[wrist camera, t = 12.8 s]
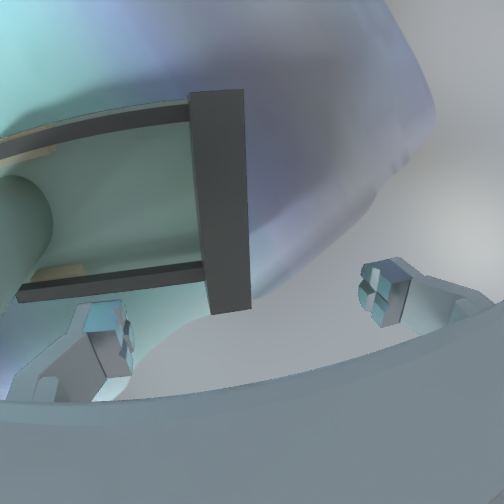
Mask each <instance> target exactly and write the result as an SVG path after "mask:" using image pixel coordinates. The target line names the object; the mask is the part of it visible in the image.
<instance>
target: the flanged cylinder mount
mask: <svg viewBox="0 0 504 504" xmlns="http://www.w3.org/2000/svg"><path fill="white" fill-rule="evenodd" d="M181 104H188V99H180V100H171V101H163V102H155V103H148V104H141V105H135V106H128V107H122V108H117V109H111V110H106V111H101V112H96V113H91V114H87V115H82V116H78V117H73V118H69V119H65V120H61V121H57V122H54V123H50V124H46V125H43V126H39V127H36V128H32V129H29V130H26V131H22V132H19V133H16V134H13V135H10V136H7V137H4V138H1V139H0V143H3V142H6V141H9V140H12V139H15V138H18V137H22V136H25V135H28V134H32V133H35V132H38V131H42V130H46V129H49V128H53V127H57V126H61V125H65V124H69V123H73V122H78V121H82V120H87V119H91V118H96V117H101V116H106V115H112V114H117V113H123V112H129V111H135V110H142V109H148V108H156V107H163V106H172V105H181ZM200 260H202V259H201V250H200V241H199V232H198V222H197V213H196V202H195V192H194V181H193V169H192V156H191V143H190V129H189V122H179V123H171V124H163V125H155V126H148V127H141V128H134V129H128V130H122V131H116V132H111V133H105V134H100V135H95V136H90V137H85V138H81V139H76V140H72V141H67V142H63V143H59V144H55V145H51V146H47V147H43V148H39V149H36V150H32V151H28V152H25V153H21V154H18V155H15V156H11V157H8V158H5V159H2V160H0V319H1V317H2V316H3V314H4V312H5V311H6V309H7V307H8V306H9V304H10V302H11V301H12V299H13V297H14V296H15V294H16V293H17V291H18V290H19V288H20V286H21V285H22V284H25V283H33V282H40V281H48V280H56V279H63V278H71V277H79V276H86V275H94V274H101V273H109V272H117V271H124V270H132V269H139V268H147V267H155V266H162V265H170V264H177V263H185V262H192V261H200Z"/></svg>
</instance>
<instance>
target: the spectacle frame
mask: <svg viewBox="0 0 504 504" xmlns="http://www.w3.org/2000/svg"><path fill="white" fill-rule="evenodd" d="M179 122H189V129H190V143H191V156H192V169H193V181H194V192H195V202H196V213H197V222H198V232H199V241H200V250H201V259H202V260H200V261H192V262H185V263H177V264H170V265H162V266H155V267H147V268H139V269H132V270H124V271H117V272H109V273H101V274H94V275H86V276H79V277H71V278H63V279H56V280H48V281H40V282H33V283H25V284H22V285H21V286H20V288H19V290H18V291H17V293H16V294H15V296H16V298H17V300H18V303H27V302H37V301H46V300H55V299H64V298H73V297H82V296H91V295H99V294H108V293H116V292H124V291H132V290H140V289H148V288H156V287H163V286H171V285H179V284H186V283H194V282H201V281H204V282H205V287H206V292H207V298H208V303H209V308H210V313H211V315H215V314H221V313H228V312H235V311H241V310H247V309H252V307H251V282H250V256H249V230H248V203H247V176H246V149H245V121H244V93H243V89H239V90H218V91H203V92H191V93H189V94H188V104H181V105H172V106H163V107H156V108H148V109H142V110H135V111H129V112H123V113H117V114H112V115H106V116H101V117H96V118H91V119H87V120H82V121H78V122H73V123H69V124H65V125H61V126H57V127H53V128H49V129H46V130H42V131H38V132H35V133H32V134H28V135H25V136H22V137H18V138H15V139H12V140H9V141H6V142H3V143H0V160H2V159H5V158H8V157H11V156H15V155H18V154H21V153H25V152H28V151H32V150H36V149H39V148H43V147H47V146H51V145H55V144H59V143H63V142H67V141H72V140H76V139H81V138H85V137H90V136H95V135H100V134H105V133H111V132H116V131H122V130H128V129H134V128H141V127H148V126H155V125H163V124H171V123H179Z"/></svg>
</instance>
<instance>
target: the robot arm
mask: <svg viewBox="0 0 504 504" xmlns="http://www.w3.org/2000/svg"><path fill="white" fill-rule="evenodd" d="M361 276H362V278H363V281H362V282H361V283H360V285H359V289H358V297H359V302H360V304H361V306H362V307H363V308H364V309H365V310H366V311H369V312H371V313H372V315H371V317H372V318H373V320H374V321H375V322H376V323H377V324H378V325H379V326H380V328H383V327H386V326H390V325H394V324H397V323H400V324H401V325H403V326H405V327H407V328H408V329H410V330H412V331H414V332H416V333H418V334H420V335H422V336H419V337H417V338H414V339H411V340H409V341H406V342H403V343H400V344H397V345H394V346H391V347H388V348H385V349H382V350H379V351H376V352H373V353H370V354H367V355H364V356H360V357H357V358H353V359H350V360H347V361H343V362H340V363H336V364H333V365H329V366H325V367H322V368H317V369H314V370H310V371H306V372H302V373H298V374H294V375H289V376H285V377H280V378H276V379H271V380H266V381H261V382H256V383H251V384H246V385H240V386H235V387H229V388H223V389H217V390H211V391H204V392H197V393H191V394H182V395H174V396H166V397H158V398H146V399H134V400H121V401H120V400H119V401H100V402H91V401H92V399H93V398H94V397H95V395H96V394H97V393H98V391H99V390H100V388H101V387H102V386H103V384H104V383H105V381H106V380H107V378H113V377H122V376H131V375H132V368H133V359H132V356H131V353H132V352H133V351H134V337H133V332H132V327H131V324H130V322H129V321H128V320H127V319H126V312H127V310H126V307H125V304H124V302H123V300H112V301H101V302H89V303H82V304H78V305H77V307H76V310H75V312H74V315H73V318H72V321H71V323H70V326H69V329H68V332H67V335H62V336H61V337H59V338H58V339H57V340H56V341H55V342H53V343H52V344H51V345H50V346H49V347H47V348H46V349H45V350H44V351H43V352H41V353H40V354H39V355H38V356H37V357H36V358H34V359H33V360H32V361H31V362H30V363H28V364H27V365H26V366H25V367H24V368H23V369H22V370H20V371H19V372H18V373H17V374H16V375H15V376H14V378H13V381H12V384H11V387H10V389H9V392H8V395H7V398H6V400H0V504H504V300H503V301H501V302H499V303H497V304H494V303H493V302H492V301H491V300H489V299H488V298H487V297H486V296H484V295H483V294H482V293H480V292H479V291H476V290H473V289H470V288H466V287H464V286H460V285H457V284H454V283H450V282H447V281H444V280H441V279H437V278H434V277H431V276H424V275H423V274H421V273H420V272H419V271H417V270H416V269H415V268H414V267H412V266H411V265H410V264H408V263H407V262H406V261H404V260H403V259H402V258H400V257H395V258H390V259H386V260H382V261H377V262H372V263H367V264H364V265H363V267H362V270H361Z"/></svg>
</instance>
